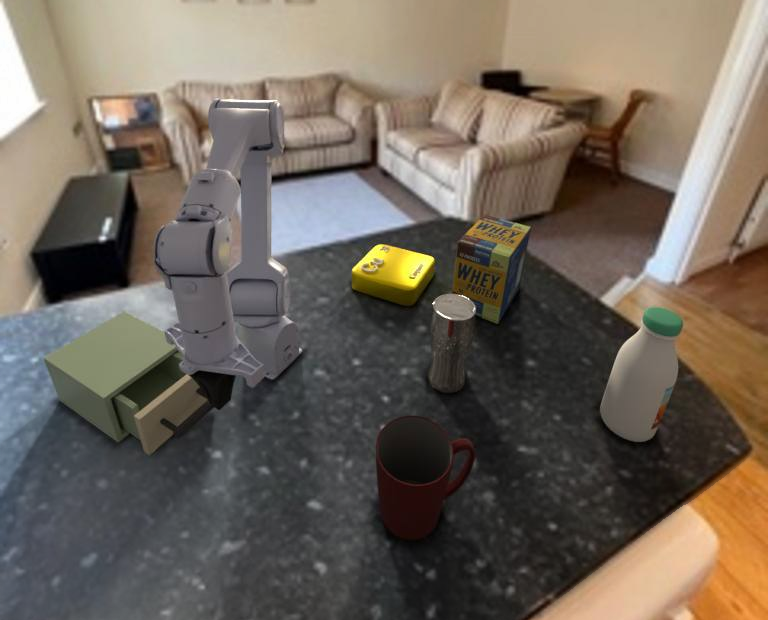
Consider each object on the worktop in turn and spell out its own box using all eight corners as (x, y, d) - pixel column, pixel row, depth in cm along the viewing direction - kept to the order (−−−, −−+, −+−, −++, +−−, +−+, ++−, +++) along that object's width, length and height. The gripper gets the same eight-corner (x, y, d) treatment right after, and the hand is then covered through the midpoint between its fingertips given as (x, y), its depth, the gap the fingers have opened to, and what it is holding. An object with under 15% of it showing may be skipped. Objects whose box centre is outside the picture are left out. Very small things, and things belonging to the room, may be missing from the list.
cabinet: (192, 382, 73) (183, 341, 69) (118, 442, 63) (103, 398, 59) (135, 350, 79) (124, 311, 75) (59, 400, 69) (43, 357, 65)
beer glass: (471, 371, 76) (482, 300, 70) (460, 401, 71) (470, 326, 64) (433, 358, 79) (440, 288, 73) (419, 386, 73) (425, 312, 67)
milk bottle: (632, 452, 63) (675, 342, 55) (587, 411, 70) (619, 307, 61) (666, 431, 67) (711, 324, 58) (620, 394, 73) (655, 293, 64)
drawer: (235, 407, 68) (230, 374, 65) (170, 470, 58) (160, 434, 56) (158, 364, 75) (150, 332, 72) (90, 413, 66) (77, 379, 63)
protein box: (449, 307, 93) (456, 241, 86) (476, 272, 105) (484, 213, 98) (498, 325, 88) (510, 257, 81) (521, 287, 100) (532, 225, 93)
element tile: (411, 309, 92) (413, 289, 90) (348, 289, 97) (347, 270, 95) (436, 273, 104) (437, 255, 102) (378, 257, 110) (378, 240, 108)
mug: (454, 464, 61) (462, 406, 56) (480, 532, 53) (492, 471, 49) (368, 481, 59) (369, 421, 54) (382, 555, 51) (385, 493, 46)
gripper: (133, 315, 51) (156, 401, 57) (225, 362, 45) (240, 453, 51) (185, 284, 57) (200, 365, 62) (273, 322, 51) (281, 409, 56)
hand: (221, 402), depth 57 cm, fingers closed
